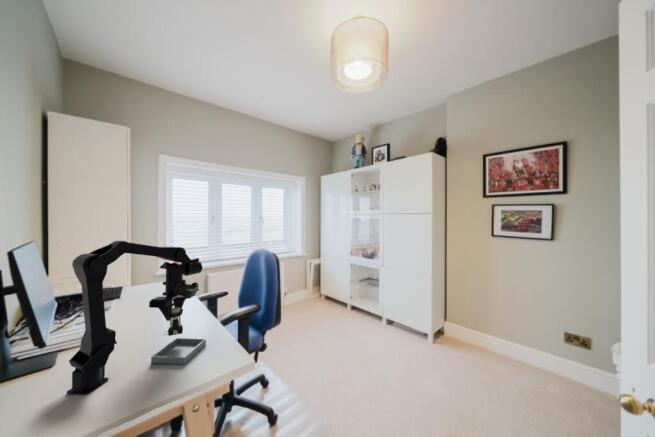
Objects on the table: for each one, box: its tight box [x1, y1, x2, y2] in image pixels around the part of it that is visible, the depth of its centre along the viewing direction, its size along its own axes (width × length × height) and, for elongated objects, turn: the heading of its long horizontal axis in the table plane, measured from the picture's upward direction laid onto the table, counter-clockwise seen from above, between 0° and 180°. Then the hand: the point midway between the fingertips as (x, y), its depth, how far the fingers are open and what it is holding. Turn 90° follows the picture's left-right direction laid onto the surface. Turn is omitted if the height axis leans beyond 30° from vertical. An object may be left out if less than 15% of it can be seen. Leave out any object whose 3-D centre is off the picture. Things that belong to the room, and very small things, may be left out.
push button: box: [163, 306, 184, 337], centre depth 93 cm, size 7×5×10 cm
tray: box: [150, 337, 207, 366], centre depth 88 cm, size 13×12×2 cm
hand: (173, 317), depth 93 cm, fingers closed on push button, 5 cm apart
